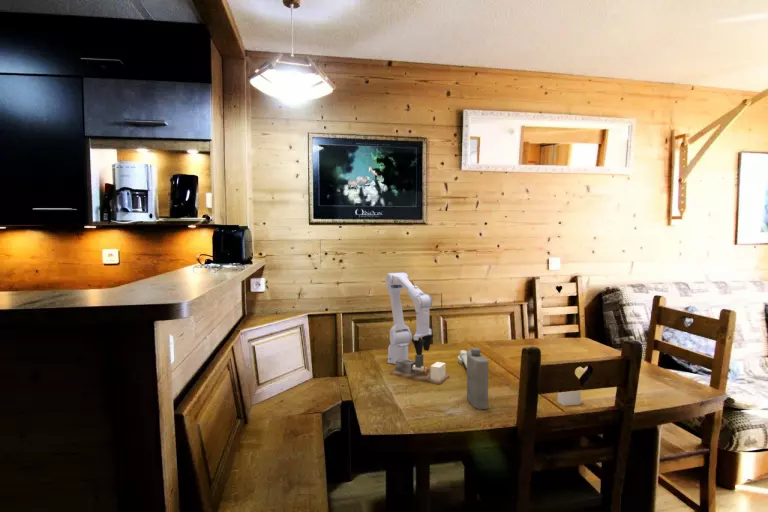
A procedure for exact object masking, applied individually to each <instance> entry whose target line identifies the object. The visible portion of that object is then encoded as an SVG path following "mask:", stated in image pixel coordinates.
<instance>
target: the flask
mask: <svg viewBox="0 0 768 512" xmlns="http://www.w3.org/2000/svg"><path fill="white" fill-rule="evenodd" d="M466 351H467V368H466V398H467V401H468V403H469V404H470V406H472V407H474V408H475V409H476V408H477V409H476V410H480V409H485V410H487V409H488V408H489V360H488V358H486V357H485V356H484V355H483V354H482V353H481V352H482V349H481V348H479V347H471V349H469V350H466Z"/></svg>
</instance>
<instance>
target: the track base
mask: <svg viewBox="0 0 768 512" xmlns="http://www.w3.org/2000/svg"><path fill="white" fill-rule="evenodd" d="M410 360H411V359H408V360H405V359H398V360H397V361H395V364H394V369H393V370H392V371H390V372H389V373H390V376H391V375H392V376H396V377H402V378H405V379H410V380H416V381H420V382H424V383H431V384H434V385H439V386H440V385H442V383H444V382H445V381H447V380H448V379H449V378H450V375H449V374H446V376H445V377H443V378H442V379H441V380H440V381H438V380H433V379H431V370H429V372H428V374H425V373H421V372H416V371H412V364H414V365H415V360H411V361H410Z"/></svg>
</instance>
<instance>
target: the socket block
mask: <svg viewBox="0 0 768 512" xmlns="http://www.w3.org/2000/svg"><path fill="white" fill-rule="evenodd" d="M446 368H447V367H446V362H441V361H436V362H435V363H433V364H431V365H430V372H431V379H433V380H438V381H440V380H441V379H442V378H443V377H445V376H446V375H447V374H446V372H447V371H446Z"/></svg>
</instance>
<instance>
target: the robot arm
mask: <svg viewBox="0 0 768 512" xmlns="http://www.w3.org/2000/svg"><path fill="white" fill-rule="evenodd" d="M385 286H386V291H388V292H389V293H388V294H389V299H390V307H391V312H392V313H391V314H392V319H393V325H392V326H391V328H390V329H389V342H390V344H389V345H388V349H387V363H389V364H394V365H395V361H397V360H398V359H405V360H410V361H412V360H411V359H409V345H410V343H411V342H412V343H413V346H414V349H415V355H422V354H423V351H430V347H431V344H432V343H431V342H432V341H433V338H434V334H433V333H432V328H430V308H431V307H432V305H433V298H432V296H431V295H430V294H429V293H427V294H426V293H424V291H422V290H421V289H420V288H419V286H418V285H413V284H412V282H411V281H410V280H409V275H408V274H407V273H406V272H388V273H387V274H386V276H385ZM403 289H405V290H406V291H407V296H408V297H409V298H410V299H411V300H412V302H413V305H414V311H415V313H416V317H415V318H416V319H415V321H416V331H415V333H414V335H413V334H412V332H411V330H410V326H408V325H407V324H406V323H405V319H404V313H403V306H402V300H401V294H400V293H401V291H402V290H403Z"/></svg>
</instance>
